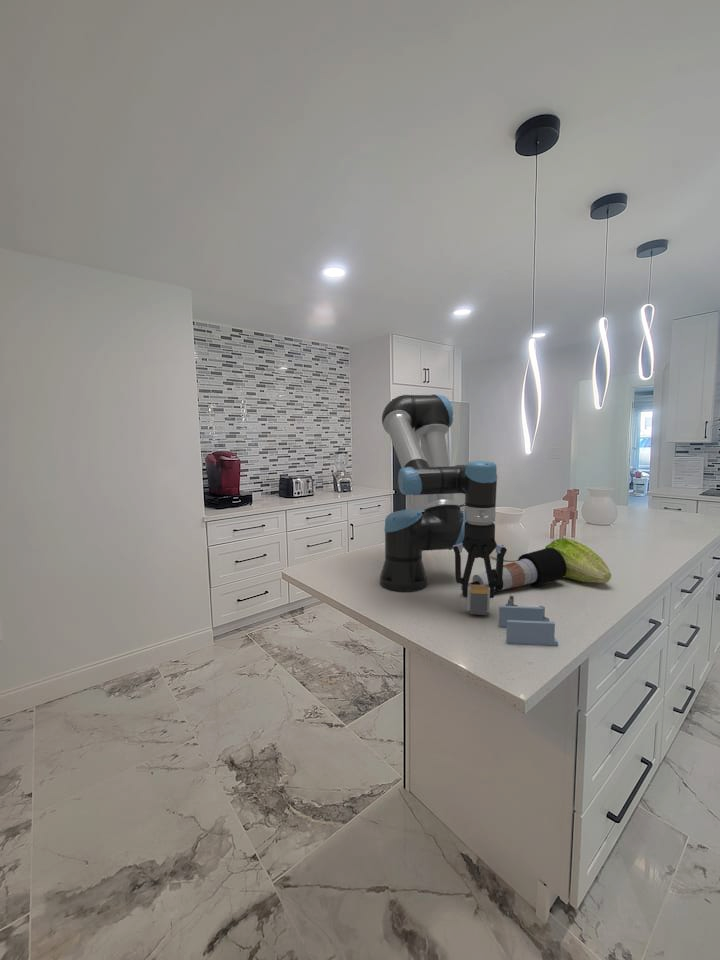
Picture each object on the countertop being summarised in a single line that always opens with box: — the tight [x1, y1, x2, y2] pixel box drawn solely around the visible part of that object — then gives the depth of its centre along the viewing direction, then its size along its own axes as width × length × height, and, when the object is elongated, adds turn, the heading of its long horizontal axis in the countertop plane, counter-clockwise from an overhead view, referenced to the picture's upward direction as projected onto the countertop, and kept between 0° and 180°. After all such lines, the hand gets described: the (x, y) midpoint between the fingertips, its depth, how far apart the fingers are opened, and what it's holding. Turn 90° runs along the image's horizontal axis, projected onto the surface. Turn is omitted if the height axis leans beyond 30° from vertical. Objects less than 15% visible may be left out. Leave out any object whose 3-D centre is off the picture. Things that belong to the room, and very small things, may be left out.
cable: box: [460, 548, 567, 593], centre depth 124 cm, size 10×34×10 cm, turn 107°
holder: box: [498, 605, 559, 646], centre depth 94 cm, size 11×9×5 cm
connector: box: [469, 584, 488, 616], centre depth 106 cm, size 4×4×6 cm
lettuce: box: [544, 537, 612, 583], centre depth 131 cm, size 13×22×14 cm
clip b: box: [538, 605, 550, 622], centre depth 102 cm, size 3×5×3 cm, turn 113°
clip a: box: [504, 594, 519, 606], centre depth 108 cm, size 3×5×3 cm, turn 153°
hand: (477, 608), depth 106 cm, fingers closed on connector, 4 cm apart
